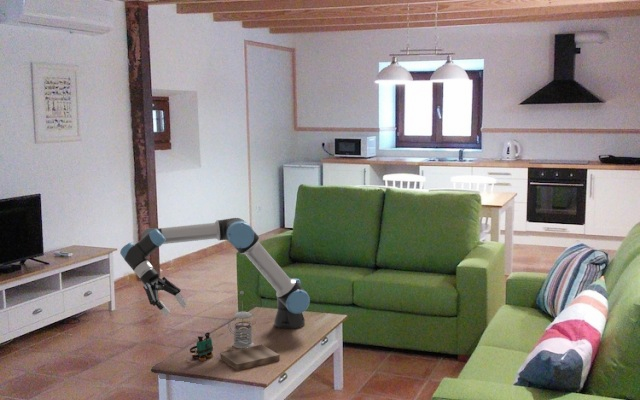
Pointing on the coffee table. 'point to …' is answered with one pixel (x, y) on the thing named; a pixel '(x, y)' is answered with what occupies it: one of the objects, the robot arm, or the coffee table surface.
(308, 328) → the coffee table surface
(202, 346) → the binoculars
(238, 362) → the walnut stand
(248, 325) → the white plunger jar
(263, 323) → the coffee table surface
